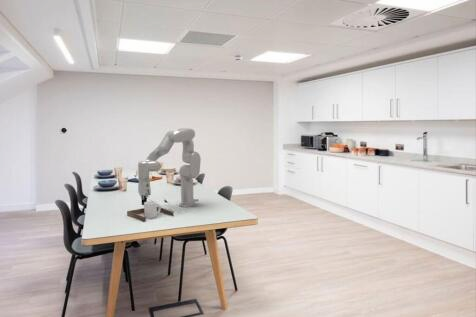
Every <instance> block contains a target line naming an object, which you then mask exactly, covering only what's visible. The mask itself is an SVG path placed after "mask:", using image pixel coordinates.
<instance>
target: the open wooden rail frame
mask: <svg viewBox="0 0 476 317" xmlns="http://www.w3.org/2000/svg"><path fill="white" fill-rule="evenodd" d="M158 210H159V207H158V206H157V211H158ZM159 213H161V214H165V215H168V216H171V217H174V211H173V210H170V209H166V208H164V207H161V210H160V212H159ZM141 214H144V207H143V208H137V209H132V210H127V211H126V216H128V217H130V218H133V219H135V220H139V221H140V222H143V223H146V222H147V218H146V217H145V216H143V215H141Z"/></svg>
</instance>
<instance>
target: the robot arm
mask: <svg viewBox="0 0 476 317" xmlns="http://www.w3.org/2000/svg"><path fill="white" fill-rule="evenodd" d="M195 137H196V131H195V130H194V129H193V128H190V127H188V128H186V127H185V128H184V127H183V128H178V129H177V130H170V131H167V132H166V133H165V135H164V136H163V138H162V140H161V142H160V143H159V144H158V146H157V147H156V148H155V149H153V151H151V152H150V153H149V155H147V157H146V158H145V160H143V161H138V164H137V167H138V168H137V169H138V171H137V172H138V173H137V174H138V175H137V176H138V178H137V180H138V187H137V191H138V192H137V193H138V195H139V196H140V198H141V199H140V200H141V205H142V206H144V202H148V201H147V200H148V198H150V197H149V196H151V194H152V191H151V182H150V172H158V171H160V170H161V169H162V165H161V163H160V162H159V161H158V159H160V158H161V157H163V156H165V155H168V154H169V153H170V151H171V149H172V147H173V145H174V144H177V143H182V153H181V154H182V156H181V159H182V162H183V163H185V164H183V165H181V166H180V168H179V170H178V173H179V178H180V198H181V199H180V200H181V201H180V203H179V207H182V208H190V207H194V206H196V203H197V202H199V201H200V200H199V198H194V180H193V179H197V178H198V177H199V176H200V172H201V160H202V159H201V155H200V153H198V152H197V151H195V144H194V140H193V139H194V138H195Z"/></svg>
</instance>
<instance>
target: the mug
mask: <svg viewBox="0 0 476 317" xmlns="http://www.w3.org/2000/svg"><path fill="white" fill-rule="evenodd" d="M157 207H159V210H158V211H157ZM143 208H144V213H143V214H144V217H146V220H147V219H156V218H157V217H158V214H159V213H161V212H160V210H161V208H162V207H161V205H160V204H159V203H157V201H153V200H150V201H147V202H144V205H143Z"/></svg>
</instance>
